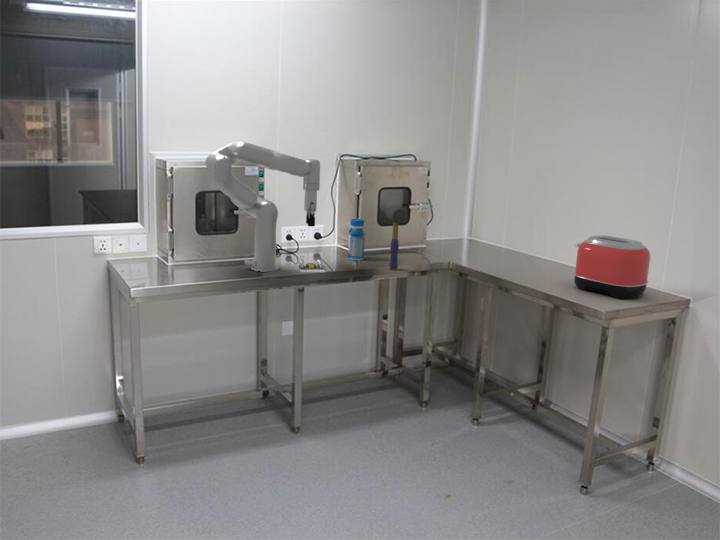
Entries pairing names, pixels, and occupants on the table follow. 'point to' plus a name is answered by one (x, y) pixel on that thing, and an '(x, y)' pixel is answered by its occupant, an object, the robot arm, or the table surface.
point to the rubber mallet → (395, 232)
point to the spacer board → (311, 269)
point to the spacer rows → (319, 264)
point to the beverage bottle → (356, 240)
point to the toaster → (612, 266)
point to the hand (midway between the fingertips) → (310, 224)
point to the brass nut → (311, 265)
